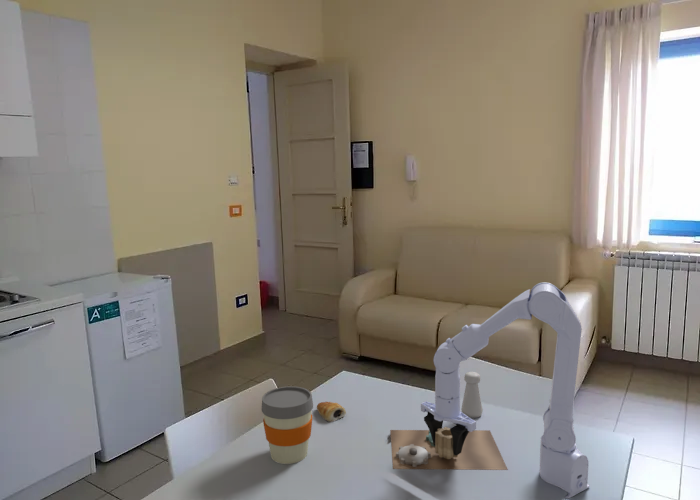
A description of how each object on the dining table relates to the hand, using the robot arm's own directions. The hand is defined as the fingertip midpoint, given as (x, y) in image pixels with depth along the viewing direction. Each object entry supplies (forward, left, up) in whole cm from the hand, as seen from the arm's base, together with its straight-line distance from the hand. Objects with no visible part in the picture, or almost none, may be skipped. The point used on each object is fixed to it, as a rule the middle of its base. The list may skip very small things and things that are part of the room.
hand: (447, 448), depth 121 cm
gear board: (+3, -2, -3) cm, 5 cm away
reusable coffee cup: (+24, +30, -4) cm, 39 cm away
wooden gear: (0, 0, -1) cm, 1 cm away
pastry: (+37, +11, -4) cm, 38 cm away
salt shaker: (+13, -21, -4) cm, 25 cm away
